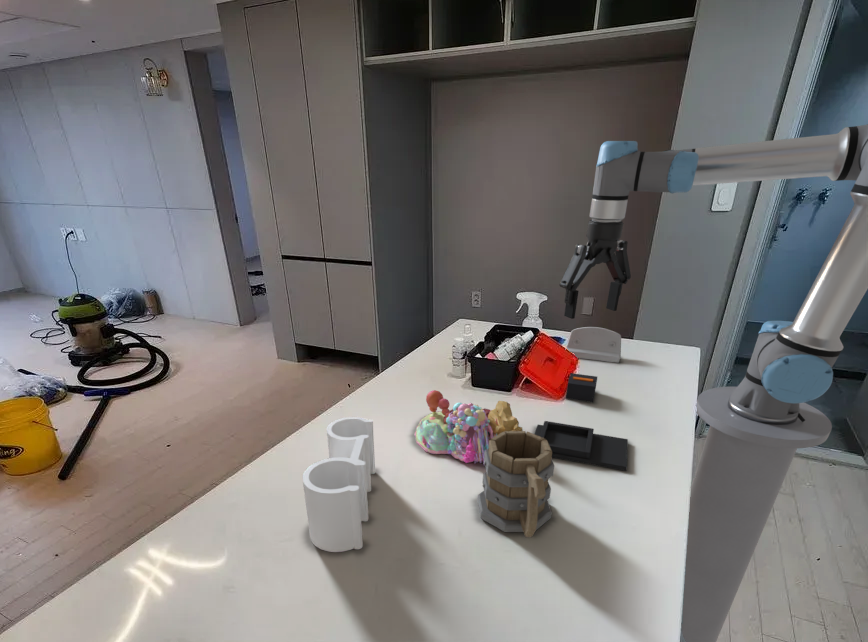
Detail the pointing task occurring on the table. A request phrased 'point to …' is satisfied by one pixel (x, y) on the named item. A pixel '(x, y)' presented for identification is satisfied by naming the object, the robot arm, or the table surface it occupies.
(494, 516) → the tankard
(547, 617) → the table surface
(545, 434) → the base pad
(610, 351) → the grey upright panel
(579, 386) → the black orange striped block
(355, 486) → the bracket
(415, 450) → the table surface
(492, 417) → the candy landscape model
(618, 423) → the table surface
